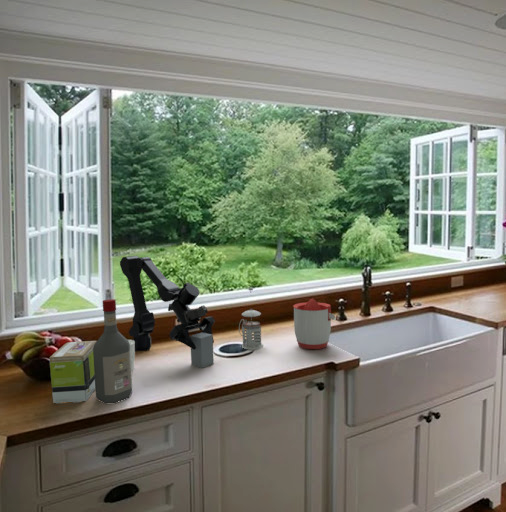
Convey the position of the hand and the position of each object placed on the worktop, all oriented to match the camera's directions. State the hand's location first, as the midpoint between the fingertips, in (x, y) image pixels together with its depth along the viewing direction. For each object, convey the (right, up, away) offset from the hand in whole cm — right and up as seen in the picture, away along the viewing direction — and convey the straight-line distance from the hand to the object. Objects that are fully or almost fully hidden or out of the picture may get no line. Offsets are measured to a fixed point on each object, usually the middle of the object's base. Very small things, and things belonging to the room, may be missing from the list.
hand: (204, 345), depth 153 cm
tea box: (-37, -10, -22) cm, 45 cm away
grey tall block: (-1, -7, +1) cm, 7 cm away
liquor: (-25, -10, -26) cm, 37 cm away
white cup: (-29, -8, -2) cm, 30 cm away
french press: (+17, -5, +22) cm, 28 cm away
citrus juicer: (+44, -5, +20) cm, 48 cm away
